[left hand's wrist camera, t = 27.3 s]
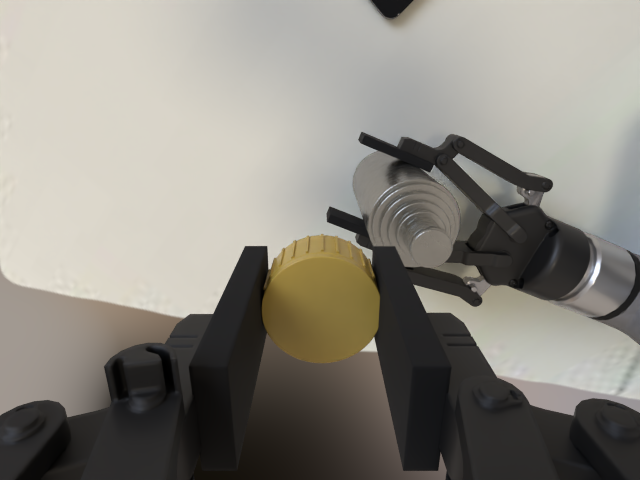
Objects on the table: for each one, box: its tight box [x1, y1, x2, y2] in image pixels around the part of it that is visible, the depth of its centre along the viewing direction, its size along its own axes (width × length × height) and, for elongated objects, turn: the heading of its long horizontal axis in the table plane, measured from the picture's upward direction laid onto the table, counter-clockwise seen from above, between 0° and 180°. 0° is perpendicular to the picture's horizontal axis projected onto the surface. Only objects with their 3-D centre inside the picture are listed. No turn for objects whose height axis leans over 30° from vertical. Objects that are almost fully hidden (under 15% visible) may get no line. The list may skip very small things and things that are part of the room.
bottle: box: [353, 151, 461, 268], centre depth 35 cm, size 7×7×20 cm
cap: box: [261, 234, 380, 363], centre depth 14 cm, size 4×4×2 cm
